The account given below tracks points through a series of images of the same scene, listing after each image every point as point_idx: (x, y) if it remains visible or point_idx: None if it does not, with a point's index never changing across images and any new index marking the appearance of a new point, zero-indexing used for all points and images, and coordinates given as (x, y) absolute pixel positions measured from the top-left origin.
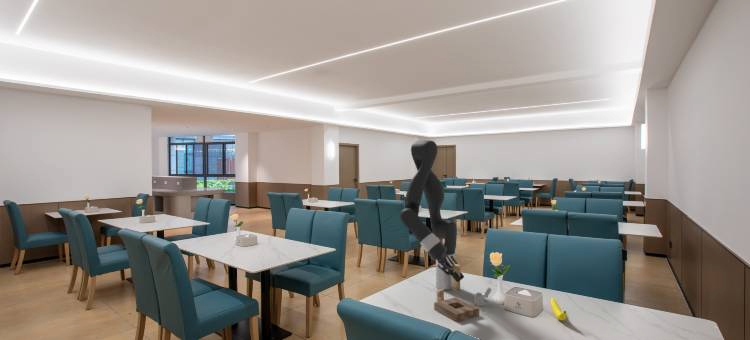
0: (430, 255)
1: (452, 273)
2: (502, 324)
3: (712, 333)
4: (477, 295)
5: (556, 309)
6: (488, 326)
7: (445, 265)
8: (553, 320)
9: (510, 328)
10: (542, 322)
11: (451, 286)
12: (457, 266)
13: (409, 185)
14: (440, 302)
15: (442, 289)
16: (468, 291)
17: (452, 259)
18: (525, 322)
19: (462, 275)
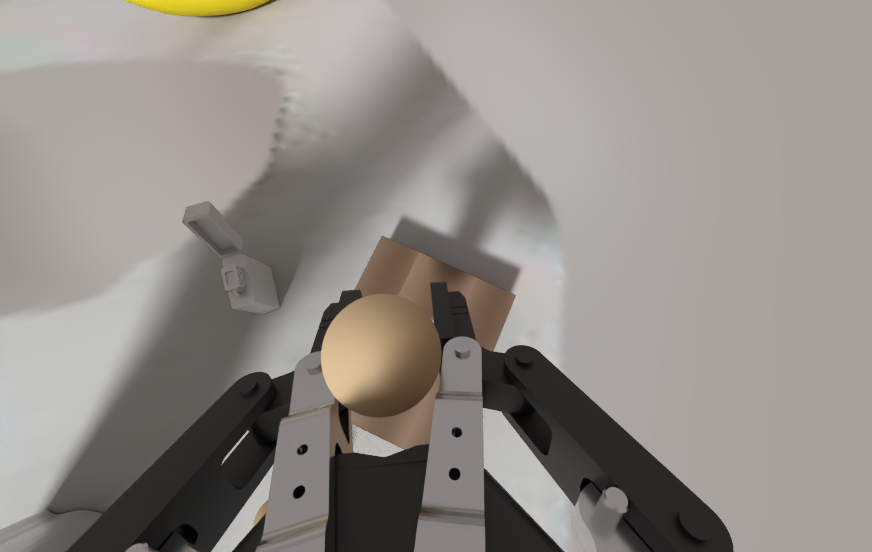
0: None
1: (483, 357)
2: (416, 147)
3: None
4: (246, 287)
5: None
6: (465, 183)
7: (622, 452)
8: (275, 18)
9: (432, 116)
10: (315, 43)
11: (86, 528)
12: (424, 315)
13: None
14: (423, 437)
15: (256, 518)
16: (91, 413)
17: (156, 538)
18: (349, 88)
19: (357, 299)
